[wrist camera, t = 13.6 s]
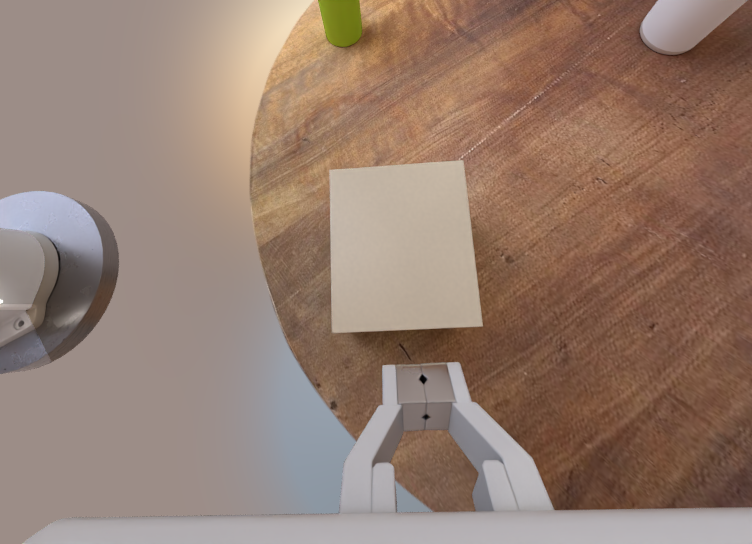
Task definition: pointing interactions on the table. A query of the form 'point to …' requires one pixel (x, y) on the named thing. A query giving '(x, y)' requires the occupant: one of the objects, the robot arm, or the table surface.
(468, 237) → the lid
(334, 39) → the soap dispenser
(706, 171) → the table surface
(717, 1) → the mug
